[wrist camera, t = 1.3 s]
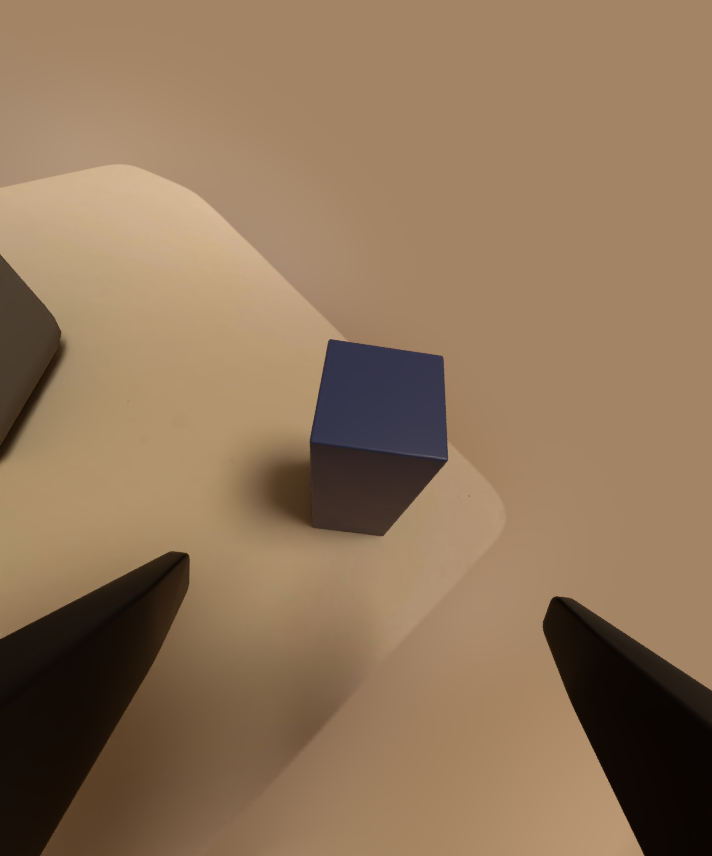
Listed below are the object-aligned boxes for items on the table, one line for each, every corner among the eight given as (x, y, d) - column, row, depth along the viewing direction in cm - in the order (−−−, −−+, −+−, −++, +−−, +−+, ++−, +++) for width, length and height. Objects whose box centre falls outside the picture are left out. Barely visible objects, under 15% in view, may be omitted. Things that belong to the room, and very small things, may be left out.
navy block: (383, 536, 21) (448, 461, 11) (312, 527, 21) (309, 442, 11) (387, 469, 24) (444, 354, 13) (322, 461, 23) (328, 337, 13)
